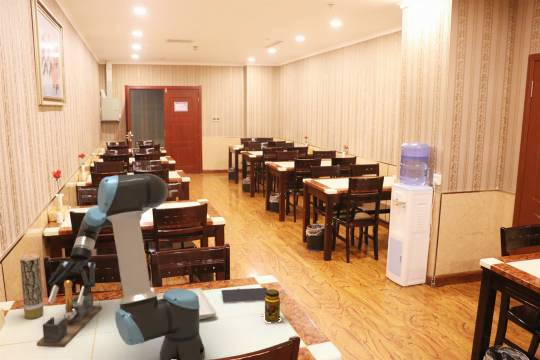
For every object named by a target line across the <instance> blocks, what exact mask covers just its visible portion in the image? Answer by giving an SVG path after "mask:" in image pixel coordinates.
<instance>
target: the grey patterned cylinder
mask: <svg viewBox="0 0 540 360" xmlns="http://www.w3.org/2000/svg"><path fill="white" fill-rule="evenodd" d="M19 260H20V273H21V274H20V275H21V276H20V277H21V287H22V299H23V300H22V302H23V313H24V318H25V319H27V320H28V319H29V320H30V319H33V320H34V319H38V318H40V317H41V316H43V315H44V301H43V298H44V297H43V289H42V288H43V286H42V272H41V271H42V270H41V259H40V254H38V253H28V254H24V255H22V256H20V259H19Z"/></svg>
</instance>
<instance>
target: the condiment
mask: <svg viewBox="0 0 540 360" xmlns="http://www.w3.org/2000/svg"><path fill="white" fill-rule="evenodd" d="M267 290H268V291H267V292H266V298H265V301H264V314H265V320H266V321H267V322H271V323H272V324H276V323H275V322H278V321H279V320H280V319H279V318H280V317H281V316H280V315H281V314H280V313H281V311H280V310H281V309H280V308H281V304H280V303H281V298H280V292H279V291H278V289H277V290H276V289H267ZM262 317H264V316H261V318H262ZM283 322H284V320H283V319H282V320H281V321H280V322H279V323H283Z"/></svg>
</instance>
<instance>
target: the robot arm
mask: <svg viewBox="0 0 540 360" xmlns="http://www.w3.org/2000/svg"><path fill="white" fill-rule="evenodd" d="M168 188H169V187H168V185H167V183H166V182H165V181H164V180H163V179H162V178H161V177H159V176H158V175H156V174H152V173H138V174H137V173H136V174H119V175H118V174H115V175H112V176H105V177H104V178H102V179H101V181H100V182H99V186H98V190H97V205H93V206H91V207H90V208H88V210H87V211H86V213H85V214H84V217H83V219H82V221H81V225H80V227H79V231H78V233H77V236H76V238H75V242H74V245H73V247H72V251H71V253H70V256H69V259H68V261H65V260H60V261H59V265H58V266H57V268H56V269H55V271H54V272H53V273H52V275H51V276H50V278H49V279H48V281H47V283H48V284H49V285H50V289H49V291H48V292H49V297H48V301H47V302H48V303H49V304H50V305H54V304H55V300H56V297H57V295H58V291H59V289H60V288H59V285H60V284H61V283H62V282H64V281H65V280H66V278H67V277H68V276H69V275H71V274H72V273H74V274H75V273H78V274H81V277H82V281H83V285H82V286H81V289H80V291H79V292H80V293H79V294H80V295H79V294H78V295H79V298H78V301H77V303H78V304H79V305H82V303H83V300H84V296H87V294H89V293H88V292H89V291H90V289H91V288H95V287H96V274H95V273H96V271H95V270H96V267H97V264H96V263H95V261H91V258H92V255H93V252H94V248H95V244H96V242H97V240H98V239H97V238H98V237H99V233H100V231H101V229H102V228H109V227H112V230H113V237H114V243H115V250H116V255H117V262H118V270H119V276H120V282H121V288H122V289H121V290H122V295H123V296H122V299H121V300H120V301H119V308H118V309H117V310H116V311H115V312H114V316H115V317H114V319H115V320H114V321H115V325H116V328H117V330H118V331H117V332H118V333H119V335H120V338H121V340H122V341H123V342H124V343H125V344H126V345H128V346H135V345H138V344H144V343H145V342H148V341H152V340H156V339H158V338H162V337H164V338H163V341H162V344H161V347H160V351H159V360H171V359H177V360H202V359H203V358H204V359H205V353H206V351H205V349H206V348H205V346H204V343H203V339H202V337H201V334H200V319H199V308H200V305H199V298H198V295H197V294H196V293H194V292H193V291H190V290H186V289H187V288H186V289H185V288H172V289H171V288H170V289H168V290H166V291H164V292H163V293H164V295H163V299H159V300H157V295H156V294H157V293H155V292H153V290H152V289H151V283H150V276H149V275H150V274H149V270H148V263H147V258H146V257H147V256H146V253H145V246H144V245H145V244H144V239H143V233H142V232H143V231H142V228H141V220H142V215H144V213H146V212H147V211H149V210H151V209H155V208H158V207H160V206H161V205H162V204H163V203H165V202H166V200H167V198H168V195H169V190H168ZM90 261H91V262H90ZM88 267H89V279H88V276H87V275H88V274H87V272H86V269H87V268H88ZM204 359H203V360H204Z"/></svg>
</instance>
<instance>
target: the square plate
mask: <svg viewBox="0 0 540 360" xmlns="http://www.w3.org/2000/svg"><path fill="white" fill-rule="evenodd" d="M186 290H190V291H193V292H194V293H196V294H197V295H198V298H199V305H200V308H199V320H203V319H208V318H212V317H213V316H215V315H216V314H217V311H216V309H215V308H214V306H213V305H212V304H211V302H210V301H209V299H208V297H207V296H206V295H205V293H204V291H203V290H202V288H200V287H196V288H188V289H187V288H186ZM164 293H165V292H160V293H155V294H156V295H157V300H159V299H163V295H164Z"/></svg>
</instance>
